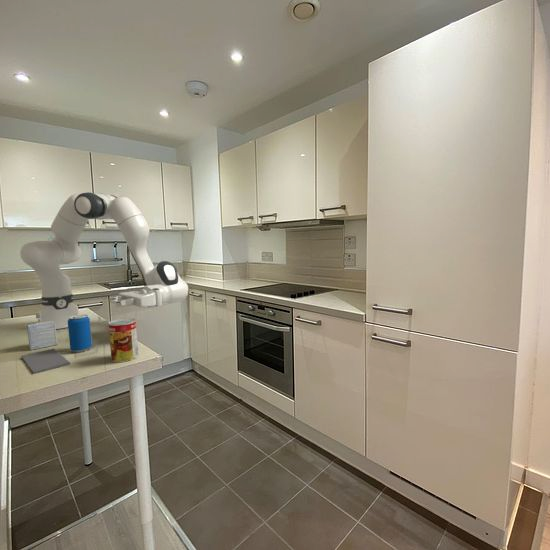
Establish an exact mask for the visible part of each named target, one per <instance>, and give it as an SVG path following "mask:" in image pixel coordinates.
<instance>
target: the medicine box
mask: <svg viewBox="0 0 550 550" xmlns="http://www.w3.org/2000/svg"><path fill="white" fill-rule="evenodd" d="M26 329H27V330H26V331H27V338H28V339H27V340H28V346H29V349H30V351H35V350H40V349H43V348H44V347H45V348H49V347H53V346H57V345H58V340H57V339H58V337H57V329H56V328H55V323H54V322H53V321H48V322H42V323H36V322H35V323H33V324H32V323H31V324H27V325H26ZM39 348H40V349H39ZM34 349H35V350H34Z"/></svg>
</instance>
